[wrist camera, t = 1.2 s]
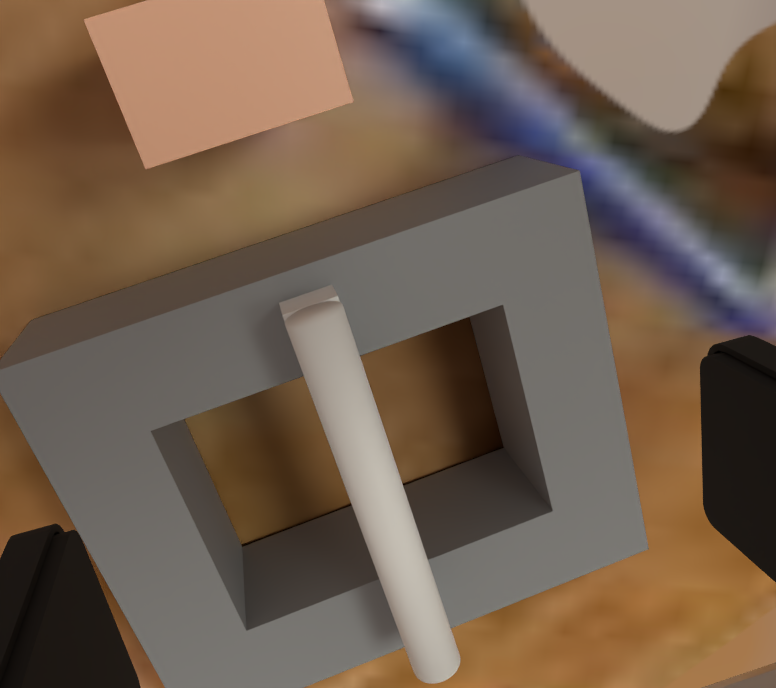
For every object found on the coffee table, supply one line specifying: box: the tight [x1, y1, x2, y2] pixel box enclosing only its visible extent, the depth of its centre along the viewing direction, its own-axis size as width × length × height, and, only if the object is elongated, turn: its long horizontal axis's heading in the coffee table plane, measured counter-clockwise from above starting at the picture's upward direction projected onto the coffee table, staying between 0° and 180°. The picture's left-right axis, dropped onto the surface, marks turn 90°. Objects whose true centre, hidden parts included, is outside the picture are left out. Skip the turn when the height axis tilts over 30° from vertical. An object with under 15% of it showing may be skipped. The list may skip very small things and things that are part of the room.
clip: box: [83, 0, 354, 169], centre depth 24 cm, size 6×4×10 cm, turn 107°
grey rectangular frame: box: [0, 155, 649, 688], centre depth 31 cm, size 22×18×10 cm
